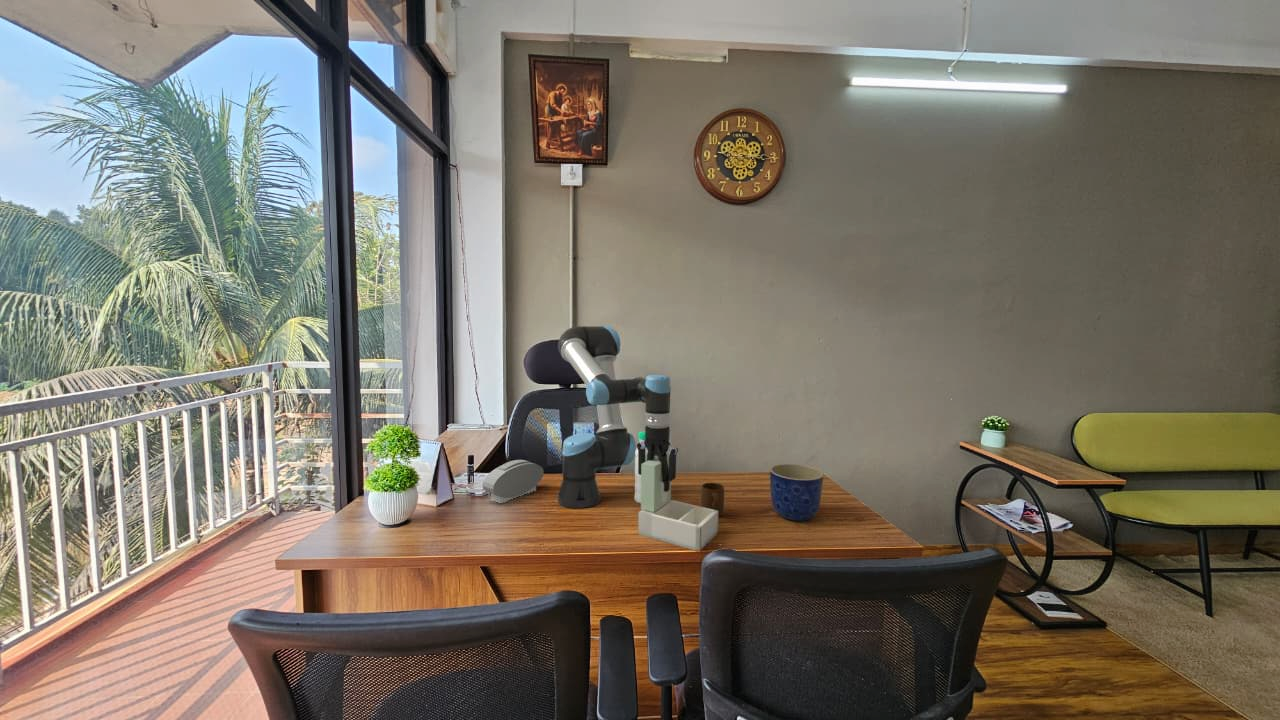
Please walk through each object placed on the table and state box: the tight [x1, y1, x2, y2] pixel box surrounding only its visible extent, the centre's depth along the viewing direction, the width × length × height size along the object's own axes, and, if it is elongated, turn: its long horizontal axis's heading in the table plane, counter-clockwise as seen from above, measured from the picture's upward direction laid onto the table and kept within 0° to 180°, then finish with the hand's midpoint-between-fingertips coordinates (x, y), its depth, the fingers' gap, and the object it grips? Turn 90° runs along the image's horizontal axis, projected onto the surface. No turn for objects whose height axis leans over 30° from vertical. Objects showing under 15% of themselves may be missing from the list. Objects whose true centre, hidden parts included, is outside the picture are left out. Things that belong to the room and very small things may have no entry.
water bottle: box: [634, 430, 648, 505], centre depth 168 cm, size 7×7×25 cm
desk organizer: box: [637, 499, 719, 552], centre depth 143 cm, size 20×14×9 cm
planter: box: [769, 463, 825, 522], centre depth 157 cm, size 17×17×15 cm
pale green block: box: [640, 455, 672, 512], centre depth 146 cm, size 4×11×14 cm, turn 149°
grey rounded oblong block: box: [482, 459, 545, 503], centre depth 173 cm, size 23×6×13 cm, turn 144°
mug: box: [700, 482, 725, 518], centre depth 157 cm, size 12×8×9 cm, turn 0°
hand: (656, 499), depth 147 cm, fingers closed on pale green block, 4 cm apart
